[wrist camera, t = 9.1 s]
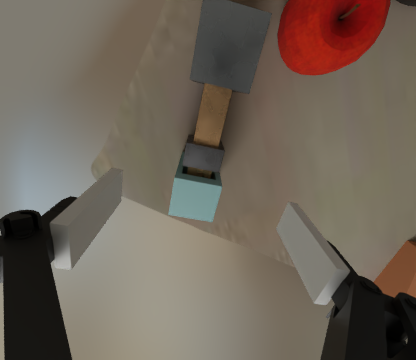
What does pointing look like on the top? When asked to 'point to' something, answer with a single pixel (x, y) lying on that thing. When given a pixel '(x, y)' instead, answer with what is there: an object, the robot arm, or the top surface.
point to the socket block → (194, 194)
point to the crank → (400, 272)
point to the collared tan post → (208, 133)
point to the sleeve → (228, 44)
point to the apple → (328, 33)
